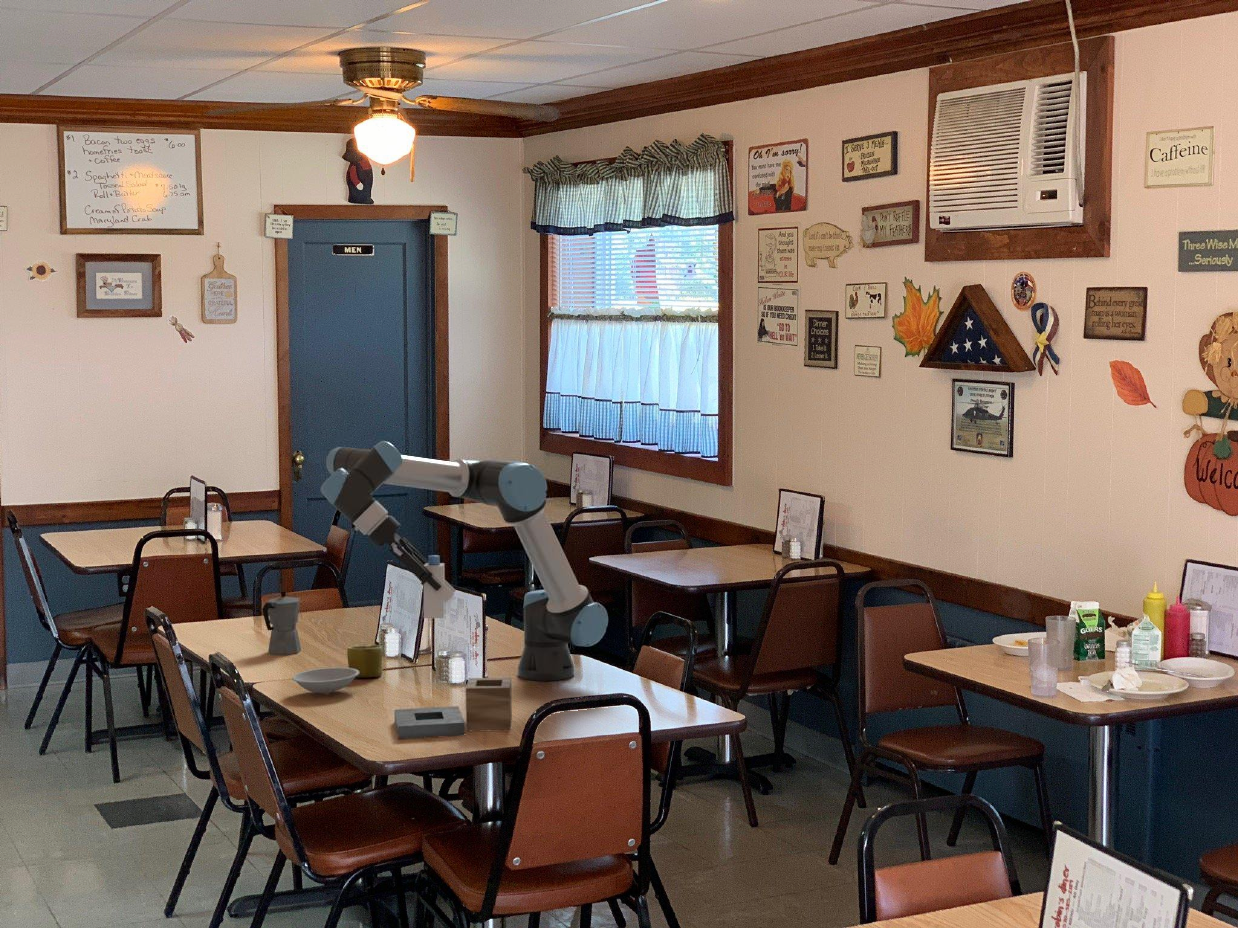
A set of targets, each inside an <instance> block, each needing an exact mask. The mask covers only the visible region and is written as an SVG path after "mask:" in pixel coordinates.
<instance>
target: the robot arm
mask: <svg viewBox="0 0 1238 928" xmlns="http://www.w3.org/2000/svg"><path fill="white" fill-rule="evenodd" d="M325 463H326V469H327V471H328V473H329V474H331V475H330V476H329V477H328V478H327V479H326V480H325V481H324V482H323V483H322V485H321V487H320V493H321V494H322V495H323V496H324V498H326V500H327V501H328V502H329V503H330V504H331V505H332V506H333V507H335V508H336V510H338V512H340V513H341V514H342V515H343V516H344V517H345V518H346V519H347V520H348V521H349V522H350V523H351V524H352V525H354V526H355V527H354V530H355V531H359V532H360V533H362V534H363V536H366V535H367V539H368V541H369V542H371V544H373V546H375V548H377V549H379V548H381V547H382V546H383V545H385V544H386V545H387V546H388V547H389V548H390V549H389V552H390V553H391V555H392V556H394V557H395V558H396V559H397V560H398V561H399V562H400V563H401V564H402V565H403V566H405V567H406V569H408V570H409V571H410V573H412V574H413V575H414V576H415V578H417V579H418V580H419V581H420V585H422V586H424V584H425V583H426V584H427V585H428V586H429V587H430V588H431V589H432V590H433V591H434V592H435V593H436V594H437V595H438V596H439V597H440V598H441V599H442V600H443V601H444V602H445V604H446V603H447V602H448V601H450V599H451V598H452V597H453V596H454V595H455V592H456V591H457V590H456V588H454V587H453V586H452V585H451V584H450V583H449V582H448V581H447V580H446V579H445V585H444V584H443V583H442V582H441V581H440V580H439V579H438V578H437V577H436V576H435V575H432V573H431V572H430V571H429V570H428V569H427V568H426V567H425V566H424V565H425V563H428V559H426V558H425V556H423V555H422V554H421V552H419V551H418V549H416V548H415V547H414V546H413V545H412V544H411V543H410V541H408V539H407V537H405V536H400V535H399V534H397V533H396V532H397V531H398V530H399V529H400V528H401V523H400V522H399V521H398V520H396V518H395V517H393V515H389V512H388V510H387V509H386V508H385V507H384V506H383V505H382V504H381V503H380V502H379V501H378V500H376V499H375V498H374V497H373V496H372V495H373V494H374V493H375V492H376V491H377V490H378V489H379V488H380V487H381V486H382V485H383V484H384V485H385V484H386V485H391V486H392V485H393V486H400V487H408V488H416V489H423V490H424V489H425V490H431V491H436V492H437V491H438V492H445V493H449V494H450V495H451V497H454V498H461V499H465V500H469V501H473V502H477V503H480V504H482V505H487V506H491V507H497V509H498V510H499V512H500V514H501V516H502V518H503V520H504V522H505V523H506V524H509V525H512V526H513V527H514V529H515V530H514V531H516V534H517V535H518V538H519V539H520V543H521V544H522V546H523V549H524V550H525V552H526V554H527V557H528V558H529V561H530V562H531V565H532V567H533V569H534V571H535V573H536V575H537V577H538V579H539V581H540V583H541V585H542V588H543V589H539V590H537V589H536V590H531V591H529V592H526V593H525V594H524V598H523V599H524V600H523V606H522V607H523V637H524V638H523V639H524V640H523V641H524V642H523V643H524V645H523V646H524V647H523V650H522V653H521V656H520V659H519V663H518V666H517V675H518V677H519V678H522V679H523V680H529V681H540V682H542V681H543V682H545V681H560V680H565V679H569V678H572V677H573V676H575V665H574V661H573V658H572V655H571V652H570V649H569V646H568V644H570V645H573V646H577V647H592V646H594V645H596V644H597V643H598V642H600V641H601V639H603V637H604V636H605V633H606V631H607V627H608V623H609V616H608V612H607V609H606V608H605V607H604V606H603V605H602V604H600V603H599V602H594V600H593V598H592V596H591V593H590V591H589V589H588V587H586V586H585V585H582V584H579V582H578V580H577V577H576V575H575V574H574V571H573V569H572V568H571V565H570V563H569V561H568V558H567V557H566V556H567V555H566V554H565V552H564V550H563V548H562V546H561V544H560V541H559V539H558V538H557V535H556V534H555V531H554V529H553V526H552V525H551V523H550V519H549V518H548V516H547V514H546V512H545V509H546V506H547V502H548V501H547V500H546V498H547V491H548V484H547V480H546V477H545V475H544V474H543V472H542V471H541V470H540V469H539V468H538V467H536V466H535V465H533V464H529V463H526V462H524V461H507V460H497V459H482V460H481V459H479V460H478V459H474V460H473V459H472V460H471V459H460V458H457V459H455V460H454V461H447V460H439V459H433V458H425V457H418V456H411V455H403V454H402V453H400V451H399V450H398V449H397V448H396V447H395V445H393V444H392V443H391V442H389V441H385V440H381V441H379V442H378V443H377V444H376V445H373V446H372V448H371V449H365V448H355V447H349V446H338V447H334V448H333V449H332V450H330V451H329V453H328V454H327V456H326V462H325Z"/></svg>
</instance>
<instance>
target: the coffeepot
mask: <svg viewBox="0 0 1238 928" xmlns="http://www.w3.org/2000/svg"><path fill="white" fill-rule="evenodd" d="M280 595H281V596H278V597H274V598H271V599H269V600H267V601H266V602H265V603H264V605H263V607H262V615H263V619H264V622H265V626H266V628H267V629H266V630H267V631H271V632H270V638H269V644H268V651H267V652H268V653H269V654H270V655H273V656H274V655H275V656H288V655H290V656H291V655H295V654H296V655H297V654H298V653H300V652H301V651H302V648H301V642H300V637H299V632H298V629H297V623H298V622H299V621H298V620H299V613H300V605H301V598H300V597H291V596H287V591H286V590H280Z"/></svg>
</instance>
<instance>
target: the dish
mask: <svg viewBox="0 0 1238 928" xmlns="http://www.w3.org/2000/svg"><path fill="white" fill-rule="evenodd" d="M357 675H359V671H358V670H356V669H352V668H349V667H322V668H314V669H309V670H304V671H302V672H301V671H300V672H298V673H294V674H293V675H292V676H291V680H292V681H294V682H296V683H297V684H298V685H299V686H300V687H301V688H303V689H304V690H306V691H308V692H313V693H322V695H329V694H331V692H335V691H339V690H341V689H344V688H345V687H348V685H349V684H351V683H352V681H353V680H355V679H356V678H355V677H356V676H357Z"/></svg>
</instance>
